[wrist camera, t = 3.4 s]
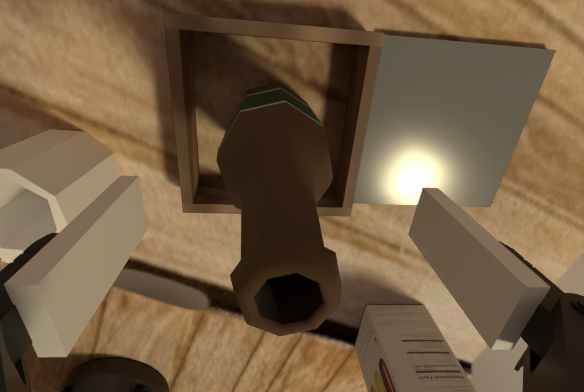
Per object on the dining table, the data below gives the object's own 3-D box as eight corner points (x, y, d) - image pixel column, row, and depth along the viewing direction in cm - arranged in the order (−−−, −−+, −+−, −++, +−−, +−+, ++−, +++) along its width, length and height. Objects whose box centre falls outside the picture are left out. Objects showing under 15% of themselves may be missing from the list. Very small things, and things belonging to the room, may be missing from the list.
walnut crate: (191, 194, 34) (182, 212, 30) (177, 16, 26) (163, 12, 22) (341, 198, 35) (350, 216, 32) (369, 33, 28) (384, 32, 24)
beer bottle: (281, 63, 28) (333, 129, 7) (324, 130, 32) (450, 316, 10) (216, 112, 30) (96, 289, 8) (263, 171, 33) (263, 408, 12)
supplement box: (364, 303, 43) (417, 440, 28) (425, 303, 44) (507, 435, 29) (353, 347, 48) (394, 487, 33) (409, 346, 49) (473, 482, 34)
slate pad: (350, 199, 35) (352, 203, 35) (379, 34, 28) (383, 34, 27) (484, 203, 37) (490, 207, 36) (547, 49, 30) (556, 50, 29)
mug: (37, 113, 29) (-63, 145, 20) (132, 149, 31) (79, 192, 22) (25, 215, 33) (-61, 277, 24) (108, 239, 35) (57, 304, 27)
